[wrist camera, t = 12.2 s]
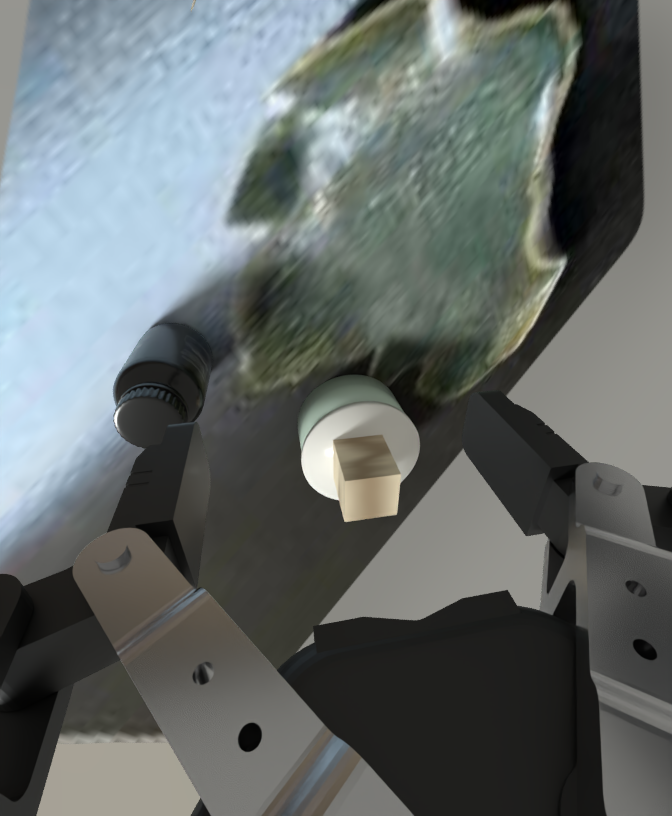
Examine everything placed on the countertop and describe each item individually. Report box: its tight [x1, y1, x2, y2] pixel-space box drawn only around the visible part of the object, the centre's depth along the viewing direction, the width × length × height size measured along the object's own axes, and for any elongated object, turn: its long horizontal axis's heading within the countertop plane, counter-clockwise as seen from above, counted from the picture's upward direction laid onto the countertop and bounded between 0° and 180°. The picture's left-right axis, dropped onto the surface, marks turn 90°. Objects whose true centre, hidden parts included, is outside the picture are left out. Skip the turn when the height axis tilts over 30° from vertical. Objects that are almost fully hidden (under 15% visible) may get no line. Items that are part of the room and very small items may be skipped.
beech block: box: [333, 435, 401, 522], centre depth 38 cm, size 5×5×6 cm
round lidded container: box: [297, 375, 420, 500], centre depth 43 cm, size 12×12×7 cm
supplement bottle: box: [113, 323, 212, 448], centre depth 33 cm, size 7×7×12 cm
